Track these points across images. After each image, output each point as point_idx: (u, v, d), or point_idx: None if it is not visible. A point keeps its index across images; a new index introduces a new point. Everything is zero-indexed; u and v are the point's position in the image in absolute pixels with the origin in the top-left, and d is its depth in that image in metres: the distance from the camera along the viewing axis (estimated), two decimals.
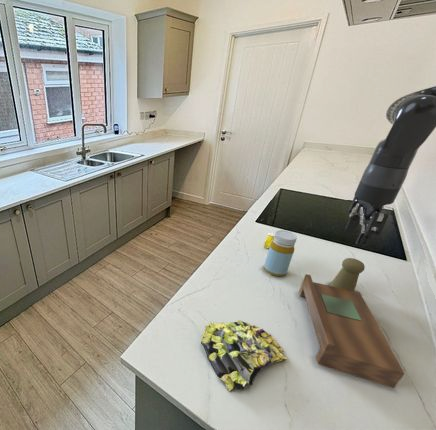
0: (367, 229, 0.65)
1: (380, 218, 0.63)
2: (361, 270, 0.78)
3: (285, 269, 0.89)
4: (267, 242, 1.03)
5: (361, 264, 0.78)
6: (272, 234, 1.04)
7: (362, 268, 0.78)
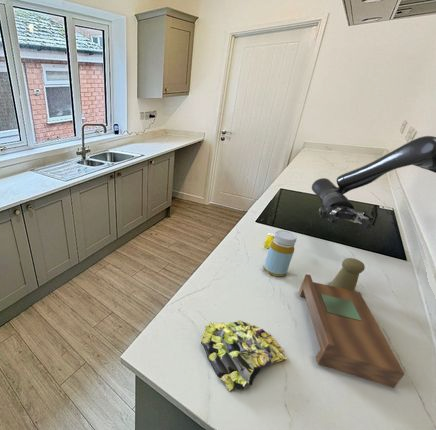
0: None
1: (319, 209, 0.95)
2: (361, 270, 0.78)
3: (285, 269, 0.89)
4: (267, 242, 1.03)
5: (361, 264, 0.78)
6: (272, 234, 1.04)
7: (362, 268, 0.78)
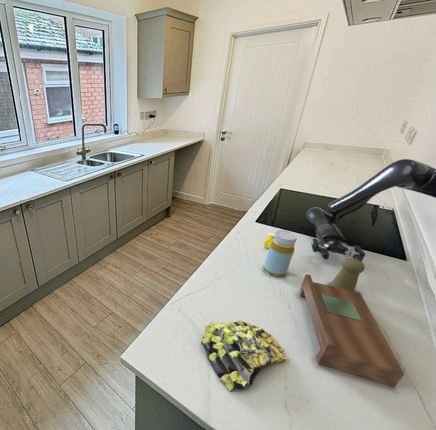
0: None
1: (312, 242, 0.97)
2: (361, 270, 0.78)
3: (285, 269, 0.89)
4: (267, 242, 1.03)
5: (361, 264, 0.78)
6: (272, 234, 1.04)
7: (362, 268, 0.78)
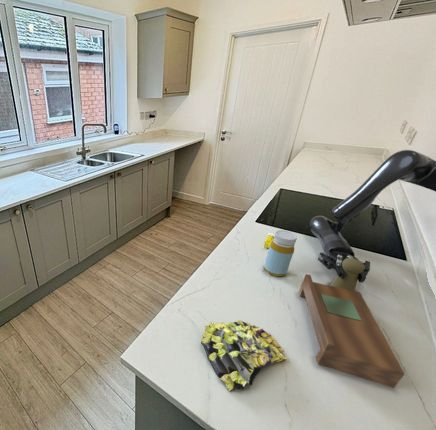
0: None
1: (320, 257, 0.89)
2: (361, 270, 0.78)
3: (285, 269, 0.89)
4: (267, 242, 1.03)
5: (361, 264, 0.78)
6: (272, 234, 1.04)
7: (362, 268, 0.78)
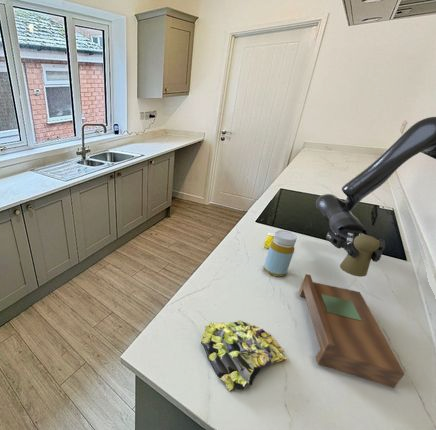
0: None
1: (328, 236, 0.80)
2: (375, 247, 0.69)
3: (285, 269, 0.89)
4: (267, 242, 1.03)
5: (375, 241, 0.70)
6: (272, 234, 1.04)
7: (377, 245, 0.69)
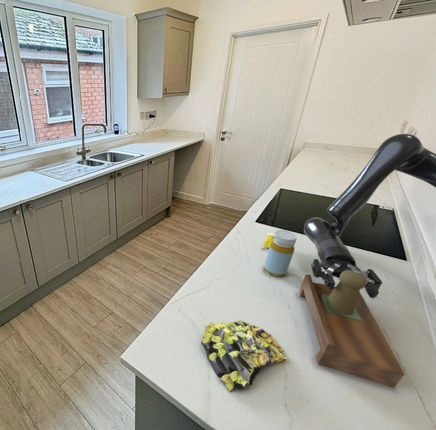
0: None
1: (312, 263, 0.77)
2: (362, 285, 0.65)
3: (285, 269, 0.89)
4: (267, 242, 1.03)
5: (362, 278, 0.65)
6: (272, 234, 1.04)
7: (363, 283, 0.65)
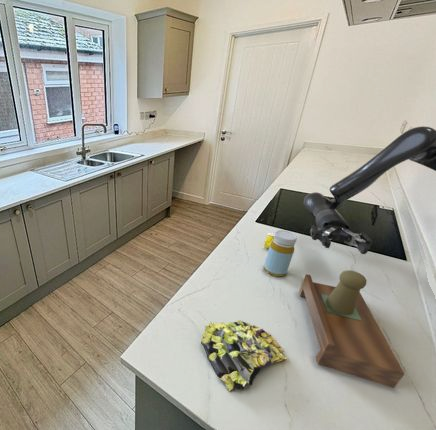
0: None
1: (311, 229, 0.86)
2: (362, 285, 0.65)
3: (285, 269, 0.89)
4: (267, 242, 1.03)
5: (362, 278, 0.65)
6: (272, 234, 1.04)
7: (363, 283, 0.65)
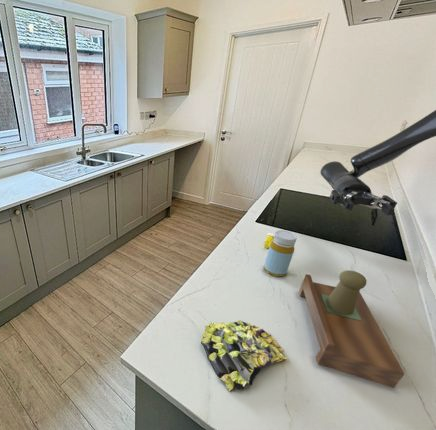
0: None
1: (331, 194, 0.83)
2: (362, 285, 0.65)
3: (285, 269, 0.89)
4: (267, 242, 1.03)
5: (362, 278, 0.65)
6: (272, 234, 1.04)
7: (363, 283, 0.65)
